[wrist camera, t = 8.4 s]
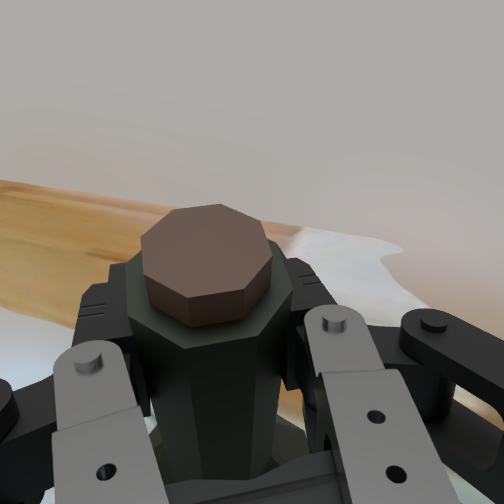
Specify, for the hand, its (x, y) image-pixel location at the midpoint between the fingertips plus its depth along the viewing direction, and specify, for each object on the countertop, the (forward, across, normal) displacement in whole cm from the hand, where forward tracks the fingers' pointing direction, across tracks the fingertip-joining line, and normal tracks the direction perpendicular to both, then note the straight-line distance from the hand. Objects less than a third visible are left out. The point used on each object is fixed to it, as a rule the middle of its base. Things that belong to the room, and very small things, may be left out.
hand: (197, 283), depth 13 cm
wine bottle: (+6, 0, +26) cm, 26 cm away
